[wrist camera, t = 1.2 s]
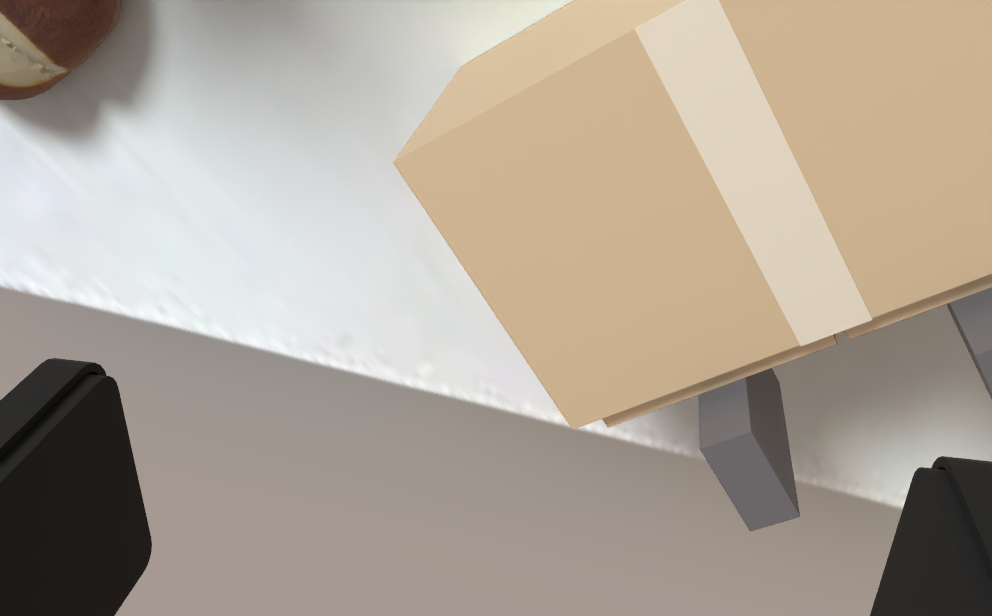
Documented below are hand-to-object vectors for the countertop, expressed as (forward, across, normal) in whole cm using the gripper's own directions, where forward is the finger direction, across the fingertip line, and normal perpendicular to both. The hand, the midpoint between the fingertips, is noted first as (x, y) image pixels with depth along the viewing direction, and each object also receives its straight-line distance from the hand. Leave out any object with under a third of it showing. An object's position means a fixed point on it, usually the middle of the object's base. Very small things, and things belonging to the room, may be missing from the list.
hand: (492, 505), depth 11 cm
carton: (+30, -5, +3) cm, 31 cm away
